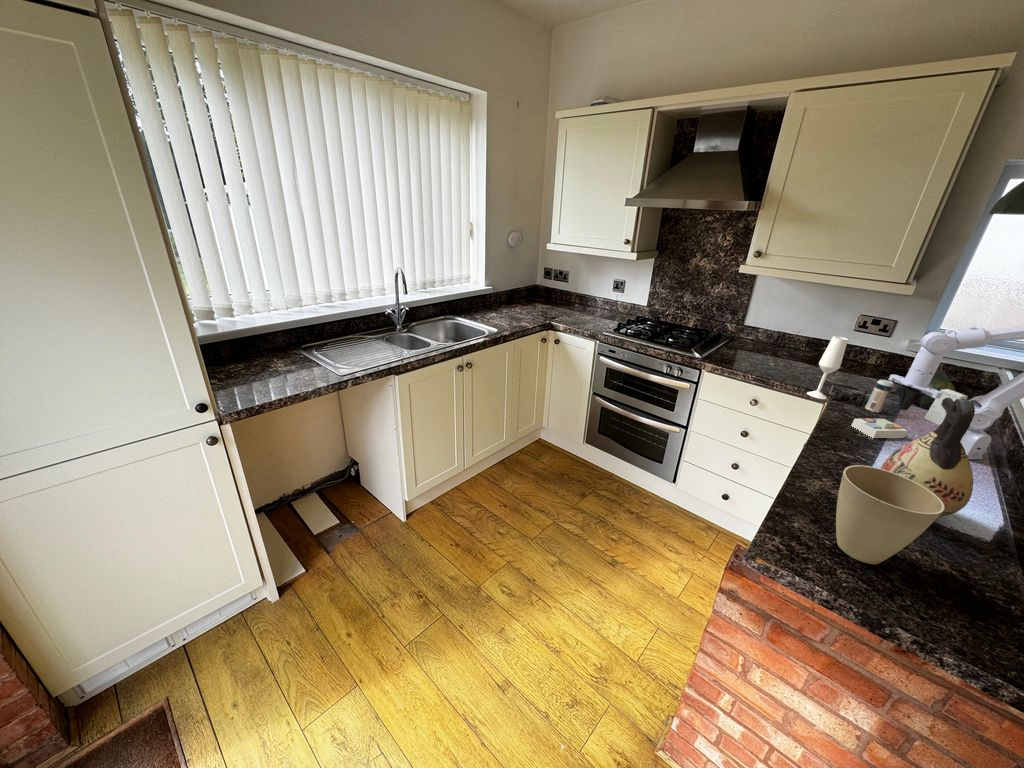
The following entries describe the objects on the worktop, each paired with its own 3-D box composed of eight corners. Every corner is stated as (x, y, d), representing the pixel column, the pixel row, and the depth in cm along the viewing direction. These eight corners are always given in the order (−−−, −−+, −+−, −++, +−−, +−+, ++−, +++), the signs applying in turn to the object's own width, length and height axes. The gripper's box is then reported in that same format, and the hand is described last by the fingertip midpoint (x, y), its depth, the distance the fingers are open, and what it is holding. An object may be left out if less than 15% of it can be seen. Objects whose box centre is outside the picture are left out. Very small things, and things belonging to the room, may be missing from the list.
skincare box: (923, 418, 151) (939, 389, 147) (930, 418, 153) (947, 388, 148) (943, 427, 146) (960, 396, 141) (951, 426, 147) (968, 395, 143)
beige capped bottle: (883, 414, 152) (898, 384, 147) (868, 412, 153) (883, 382, 148) (875, 409, 156) (889, 380, 152) (861, 406, 157) (875, 378, 152)
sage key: (890, 430, 135) (894, 423, 134) (883, 430, 134) (886, 423, 133) (882, 425, 137) (885, 419, 136) (874, 425, 137) (877, 419, 136)
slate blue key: (878, 433, 134) (882, 427, 133) (871, 433, 134) (874, 427, 133) (870, 428, 137) (873, 422, 136) (862, 428, 137) (865, 422, 136)
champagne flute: (806, 390, 169) (828, 334, 159) (825, 395, 166) (850, 338, 156) (807, 395, 163) (830, 337, 154) (827, 400, 160) (852, 341, 151)
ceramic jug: (867, 481, 109) (920, 377, 97) (945, 509, 101) (1015, 399, 89) (866, 512, 97) (928, 398, 85) (956, 547, 88) (1039, 425, 76)
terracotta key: (899, 433, 136) (902, 427, 135) (891, 433, 135) (895, 427, 134) (890, 428, 138) (893, 422, 138) (882, 428, 138) (886, 422, 137)
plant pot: (861, 525, 92) (893, 466, 86) (925, 581, 78) (968, 515, 72) (798, 523, 91) (826, 462, 85) (851, 578, 78) (888, 512, 71)
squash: (911, 395, 158) (955, 372, 152) (887, 382, 172) (927, 360, 166) (931, 422, 159) (976, 400, 153) (906, 407, 173) (947, 386, 167)
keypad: (903, 438, 135) (908, 429, 134) (872, 438, 133) (877, 429, 132) (880, 426, 142) (884, 417, 141) (850, 426, 140) (855, 417, 139)
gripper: (889, 361, 134) (871, 399, 139) (937, 379, 121) (915, 419, 126) (907, 362, 135) (888, 399, 141) (956, 379, 122) (934, 419, 128)
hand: (902, 409), depth 134 cm, fingers closed
